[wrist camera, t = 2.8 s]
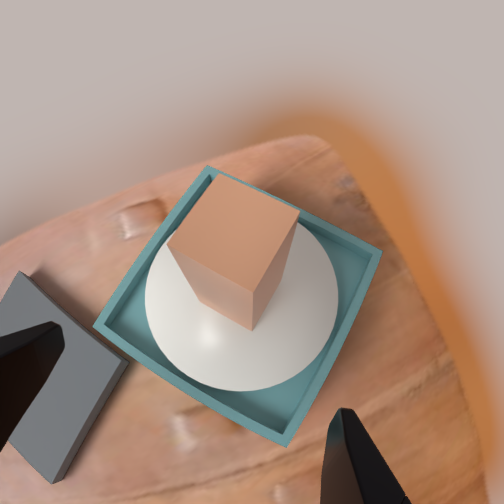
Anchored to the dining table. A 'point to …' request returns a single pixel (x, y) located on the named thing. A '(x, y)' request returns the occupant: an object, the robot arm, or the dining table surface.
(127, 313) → the tray
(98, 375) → the slate mat
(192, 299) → the lid
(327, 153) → the dining table surface
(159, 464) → the dining table surface
